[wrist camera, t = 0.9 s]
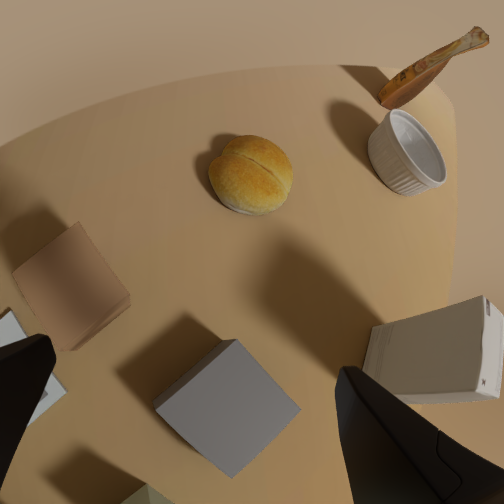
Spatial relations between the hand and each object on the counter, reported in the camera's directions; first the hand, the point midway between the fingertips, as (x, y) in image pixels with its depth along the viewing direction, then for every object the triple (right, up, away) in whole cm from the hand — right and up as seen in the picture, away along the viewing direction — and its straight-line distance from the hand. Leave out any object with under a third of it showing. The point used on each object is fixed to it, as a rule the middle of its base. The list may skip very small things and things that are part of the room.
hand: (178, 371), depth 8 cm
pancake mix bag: (+32, +36, +45) cm, 66 cm away
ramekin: (+24, +17, +35) cm, 46 cm away
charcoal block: (-1, -10, +15) cm, 18 cm away
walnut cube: (-12, 0, +13) cm, 18 cm away
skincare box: (+16, -9, +22) cm, 29 cm away
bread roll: (+2, +11, +23) cm, 26 cm away
